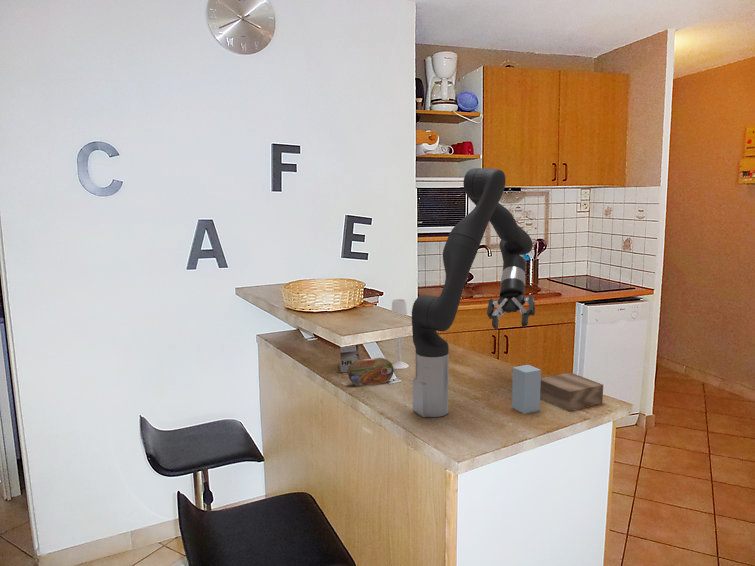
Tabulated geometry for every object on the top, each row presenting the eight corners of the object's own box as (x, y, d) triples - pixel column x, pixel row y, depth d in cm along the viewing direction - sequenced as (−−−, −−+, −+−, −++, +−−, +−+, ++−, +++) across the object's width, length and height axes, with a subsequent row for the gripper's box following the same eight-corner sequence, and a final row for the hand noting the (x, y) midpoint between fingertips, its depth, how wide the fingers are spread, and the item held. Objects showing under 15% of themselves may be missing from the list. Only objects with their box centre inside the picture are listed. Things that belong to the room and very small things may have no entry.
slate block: (524, 413, 159) (525, 372, 158) (511, 407, 164) (512, 367, 163) (539, 410, 162) (541, 369, 160) (527, 404, 167) (528, 364, 165)
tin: (349, 387, 183) (348, 362, 182) (347, 384, 186) (346, 359, 185) (394, 382, 187) (393, 358, 186) (391, 380, 190) (390, 355, 189)
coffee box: (358, 372, 198) (357, 327, 196) (340, 372, 198) (339, 327, 196) (360, 364, 207) (359, 321, 205) (342, 364, 207) (341, 321, 205)
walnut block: (568, 412, 161) (569, 391, 160) (537, 397, 173) (537, 378, 172) (602, 404, 167) (603, 384, 166) (569, 390, 178) (570, 372, 177)
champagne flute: (412, 365, 205) (412, 300, 202) (400, 369, 201) (399, 302, 197) (398, 362, 210) (398, 297, 206) (386, 366, 205) (385, 300, 201)
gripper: (487, 279, 182) (482, 322, 172) (532, 274, 175) (530, 318, 166) (494, 293, 187) (490, 335, 177) (538, 288, 180) (536, 332, 171)
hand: (509, 327), depth 172 cm, fingers open, 8 cm apart
